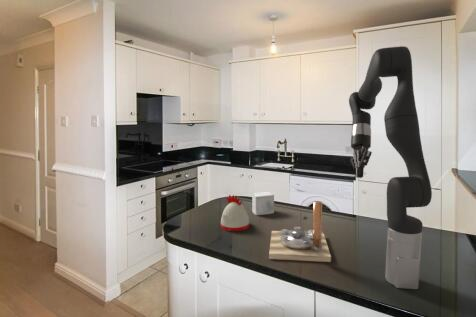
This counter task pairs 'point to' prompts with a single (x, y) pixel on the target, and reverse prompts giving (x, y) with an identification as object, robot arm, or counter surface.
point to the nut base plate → (297, 251)
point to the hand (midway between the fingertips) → (359, 177)
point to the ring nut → (305, 233)
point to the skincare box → (263, 203)
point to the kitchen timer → (234, 216)
